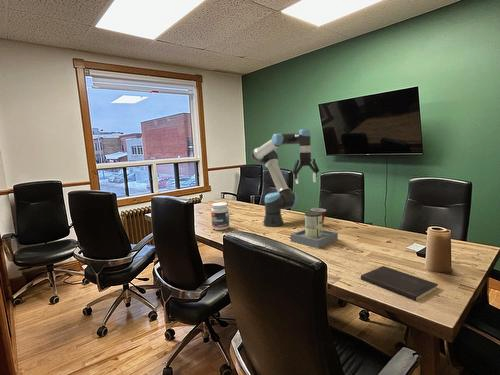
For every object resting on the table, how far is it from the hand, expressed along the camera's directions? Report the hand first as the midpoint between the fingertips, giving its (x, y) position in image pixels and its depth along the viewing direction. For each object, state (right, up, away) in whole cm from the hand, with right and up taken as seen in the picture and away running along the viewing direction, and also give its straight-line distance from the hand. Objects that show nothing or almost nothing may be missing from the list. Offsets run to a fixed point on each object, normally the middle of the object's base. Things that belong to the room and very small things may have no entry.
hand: (306, 183), depth 202 cm
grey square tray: (0, -35, -25) cm, 43 cm away
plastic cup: (+11, -31, +8) cm, 34 cm away
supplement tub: (-60, -34, +13) cm, 70 cm away
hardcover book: (+21, -43, -85) cm, 97 cm away
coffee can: (0, -32, -26) cm, 41 cm away
